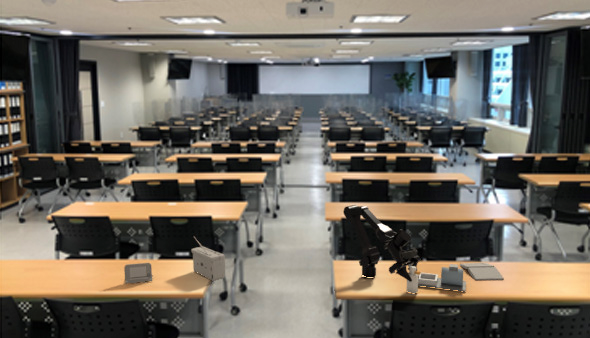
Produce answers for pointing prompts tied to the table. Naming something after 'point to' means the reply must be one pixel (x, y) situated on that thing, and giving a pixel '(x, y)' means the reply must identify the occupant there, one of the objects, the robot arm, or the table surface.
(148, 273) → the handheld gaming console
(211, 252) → the stereo radio cassette player
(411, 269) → the white rounded upright piece
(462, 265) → the gadget
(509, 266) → the table surface
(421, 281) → the tray with square frame
